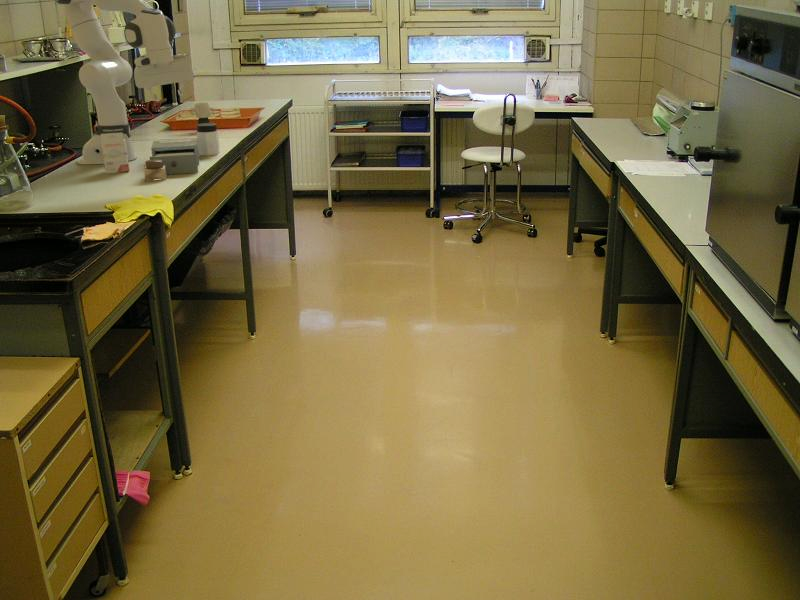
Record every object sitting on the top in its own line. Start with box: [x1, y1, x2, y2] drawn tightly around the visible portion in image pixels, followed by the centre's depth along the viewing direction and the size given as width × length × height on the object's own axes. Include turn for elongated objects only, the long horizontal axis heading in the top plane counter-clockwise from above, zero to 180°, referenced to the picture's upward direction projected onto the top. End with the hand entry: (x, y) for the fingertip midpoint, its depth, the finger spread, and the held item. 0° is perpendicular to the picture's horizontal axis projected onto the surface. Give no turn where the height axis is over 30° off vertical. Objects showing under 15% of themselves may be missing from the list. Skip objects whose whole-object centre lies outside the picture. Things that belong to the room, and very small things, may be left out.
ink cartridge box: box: [100, 132, 130, 174], centre depth 319 cm, size 9×5×15 cm, turn 105°
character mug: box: [190, 102, 215, 124], centre depth 404 cm, size 11×7×13 cm, turn 92°
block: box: [143, 165, 167, 181], centre depth 307 cm, size 7×7×4 cm
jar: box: [195, 122, 221, 157], centre depth 349 cm, size 9×8×12 cm
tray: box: [149, 152, 199, 175], centre depth 320 cm, size 17×17×7 cm
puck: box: [145, 159, 163, 169], centre depth 306 cm, size 6×6×2 cm
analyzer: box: [150, 138, 200, 166], centre depth 334 cm, size 17×16×8 cm
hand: (168, 97), depth 306 cm, fingers open, 8 cm apart
